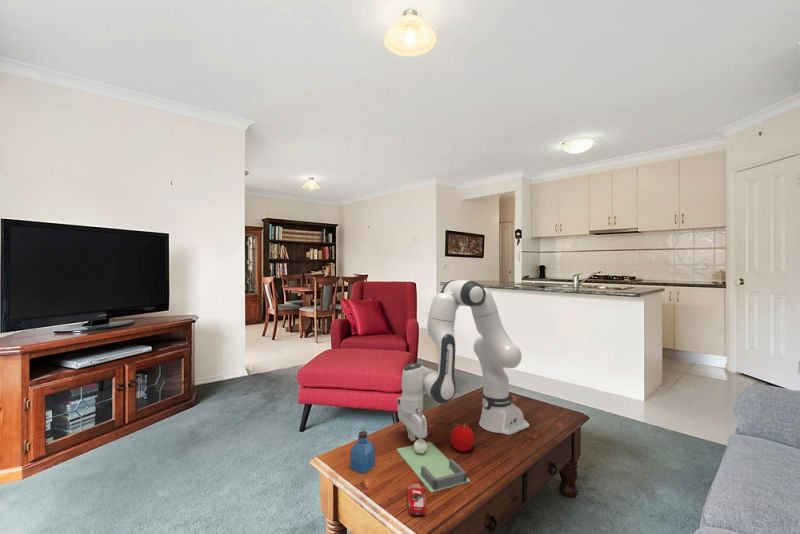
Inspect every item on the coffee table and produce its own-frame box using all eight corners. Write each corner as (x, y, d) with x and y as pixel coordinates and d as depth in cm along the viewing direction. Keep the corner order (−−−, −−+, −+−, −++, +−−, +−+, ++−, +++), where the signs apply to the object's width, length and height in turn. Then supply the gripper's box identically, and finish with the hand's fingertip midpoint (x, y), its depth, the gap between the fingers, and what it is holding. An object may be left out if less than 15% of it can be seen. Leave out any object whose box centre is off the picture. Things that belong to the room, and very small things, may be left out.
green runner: (430, 442, 142) (430, 441, 142) (470, 481, 116) (470, 480, 116) (396, 449, 136) (396, 448, 136) (430, 492, 110) (430, 491, 110)
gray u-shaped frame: (451, 467, 125) (451, 458, 125) (466, 481, 116) (466, 472, 116) (420, 475, 120) (420, 466, 120) (434, 491, 111) (434, 481, 111)
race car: (406, 489, 113) (406, 476, 113) (423, 489, 113) (423, 476, 113) (407, 518, 100) (407, 504, 100) (426, 518, 100) (426, 504, 100)
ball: (423, 448, 137) (423, 435, 137) (429, 454, 132) (429, 441, 132) (411, 450, 135) (411, 437, 135) (417, 457, 130) (417, 443, 130)
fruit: (472, 456, 132) (473, 430, 132) (449, 452, 135) (449, 426, 135) (475, 444, 141) (475, 419, 141) (452, 441, 143) (453, 416, 143)
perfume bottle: (364, 473, 120) (364, 438, 120) (350, 468, 123) (350, 434, 123) (374, 465, 125) (375, 431, 125) (361, 460, 129) (361, 427, 129)
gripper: (431, 413, 132) (431, 450, 132) (408, 395, 151) (408, 427, 151) (416, 416, 130) (416, 453, 130) (395, 397, 149) (394, 429, 149)
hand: (411, 439), depth 141 cm, fingers closed
